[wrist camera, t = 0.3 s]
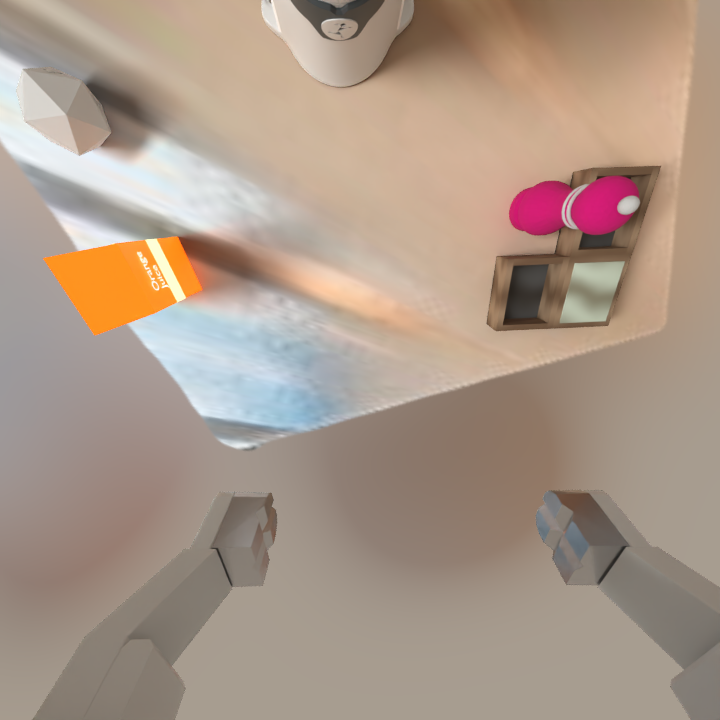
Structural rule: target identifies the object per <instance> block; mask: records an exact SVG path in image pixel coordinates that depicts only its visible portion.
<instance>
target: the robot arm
mask: <svg viewBox="0 0 720 720" xmlns="http://www.w3.org/2000/svg"><path fill="white" fill-rule="evenodd" d="M271 3H272V4H271ZM271 3H270V0H262V15H263V19H264V21H265V23H266V25H267V26H268V27H269V28H270V29H271V30H272V31H273V32H274V33H275V34H276V35H278V36H279V37H280V38H282V39H283V40H284V41H285V42H286V44H287V45H288V47H289V48H290V50H291V52H292V53H293V55H294V57H295V58H296V60H297V61H298V63H299V64H300V65H301V66H302V67H303V69H304V70H305V71H306V72H307V73H308V74H310V75H311V76H312V77H313V78H315V79H316V80H318V81H320V82H322V83H324V84H327V85H330V86H336V87H346V86H351V85H355V84H357V83H359V82H361V81H363V80H365V79H366V78H368V77H369V76H370V75H371V74H372V73H373V72H374V71H375V70H376V69H377V68H378V67H379V65H380V64H381V62H382V61H383V59H384V57H385V56H386V54H387V52H388V49H389V47H390V45H391V43H392V42H393V40H394V39H395V37H396V36H397V35H399V34H400V33H401V32H402V31H403V30H404V29H405V28H406V27H407V26H408V25H409V24H410V22H411V20H412V18H413V13H414V0H405V1H404V0H271ZM543 500H544V502H545V504H544V505H543V506H541V507H540V508H539V509H538V511H537V514H536V525H537V528H538V531H539V534H540V536H541V538H542V540H543V542H544V543H545V544H546V545H547V546H549V547H550V548H551V549H552V550H553V558H552V559H553V561H554V562H555V565H556V567H557V568H558V570H559V572H560V574H561V576H562V578H563V579H564V582H565V583H566V585H599V586H598V588H599V589H600V590H601V591H602V592H603V593H604V594H605V595H607V597H609V598H610V599H611V600H612V601H613V602H614V603H615V604H616V605H617V606H618V607H619V608H620V609H621V610H622V611H623V612H624V613H625V614H626V615H627V616H629V617H630V618H631V619H632V620H633V621H634V622H635V623H636V624H637V625H638V626H639V627H640V628H641V629H642V630H643V631H644V632H645V633H646V634H647V635H648V636H649V637H651V638H652V639H653V640H654V641H655V642H656V643H657V644H658V645H659V646H660V647H661V648H662V649H663V650H664V651H665V652H666V653H667V654H668V655H669V656H670V657H672V658H673V659H674V660H675V661H676V662H677V663H678V664H679V665H680V666H681V667H682V668H683V669H684V670H683V671H682V672H681V673H679V674H678V675H677V676H676V677H674V678H673V679H672V680H671V686H670V687H671V689H672V690H673V692H674V693H675V695H676V697H677V698H678V700H679V702H680V703H681V705H682V706H683V708H684V709H685V711H686V713H687V714H688V716H689V718H690V719H691V720H720V587H718V586H717V585H715V584H714V583H712V582H711V581H709V580H708V579H706V578H705V577H703V576H702V575H700V574H699V573H697V572H695V571H694V570H692V569H691V568H689V567H688V566H686V565H685V564H683V563H682V562H680V561H679V560H677V559H676V558H674V557H672V556H671V555H669V554H668V553H666V552H665V551H663V550H662V549H660V548H659V547H652V546H651V545H650V544H649V543H648V542H647V541H646V539H645V538H644V537H643V535H642V534H641V533H640V532H639V531H638V530H637V528H636V527H635V526H634V525H633V524H632V522H631V521H630V520H629V519H628V517H627V516H626V515H625V514H624V513H623V511H622V510H621V509H620V508H619V507H618V506H617V504H616V503H615V502H614V501H613V500H612V498H611V497H610V496H609V495H608V494H607V493H605V492H604V491H602V490H584V491H582V490H553V491H548V492H546V493H545V494H544V497H543ZM273 501H274V499H273V496H272V493H256V492H219V493H218V494H217V496H216V497H215V498H214V500H213V502H212V504H211V506H210V509H209V510H208V512H207V515H206V517H205V519H204V521H203V523H202V525H201V527H200V529H199V531H198V533H197V535H196V537H195V539H194V541H193V544H192V545H191V548H190V549H184V550H183V551H182V552H181V553H179V554H178V555H177V556H176V557H175V558H174V559H172V560H171V561H170V562H169V563H168V564H167V565H166V566H165V567H164V568H162V569H161V570H160V571H159V572H158V573H157V574H156V575H154V576H153V577H152V578H151V579H150V580H149V581H147V582H146V583H145V584H144V585H143V586H142V587H141V588H140V589H138V590H137V591H136V592H135V593H134V594H133V595H132V596H130V597H129V598H128V599H127V600H126V601H125V602H124V603H122V604H121V605H120V606H119V607H118V608H117V609H116V610H115V611H113V612H112V613H111V614H110V615H109V616H108V617H107V618H105V619H104V620H103V621H102V622H101V623H100V624H99V625H97V626H96V627H95V628H94V629H93V630H92V631H91V632H90V633H88V634H87V635H86V636H85V637H84V639H83V640H82V642H81V643H80V645H79V647H78V648H77V650H76V651H75V653H74V654H73V656H72V658H71V659H70V661H69V662H68V664H67V666H66V667H65V669H64V670H63V672H62V674H61V675H60V677H59V678H58V680H57V682H56V683H55V685H54V686H53V688H52V690H51V691H50V693H49V694H48V696H47V698H46V699H45V701H44V702H43V704H42V706H41V707H40V709H39V710H38V712H37V714H36V715H35V717H34V718H33V720H175V718H176V715H177V712H178V709H179V706H180V703H181V700H182V697H183V694H184V691H185V685H184V682H183V680H182V679H181V677H180V676H179V675H178V674H177V672H176V671H175V670H174V669H173V667H172V665H173V664H174V663H175V661H176V660H177V659H178V657H179V656H180V655H181V654H182V652H183V651H184V650H185V648H186V647H187V646H188V645H189V643H190V642H191V641H192V640H193V638H194V637H195V636H196V634H197V633H198V632H199V631H200V629H201V628H202V627H203V626H204V624H205V623H206V622H207V620H208V619H209V618H210V617H211V615H212V614H213V613H214V611H215V610H216V609H217V608H218V606H219V605H220V604H221V603H222V601H223V600H224V599H225V598H226V596H227V595H228V594H229V592H230V591H231V590H232V587H243V586H263V584H264V580H265V576H266V572H267V568H268V564H269V556H268V552H267V550H268V549H269V548H270V547H271V546H272V545H273V543H274V540H275V535H276V529H277V513H276V510H275V509H274V508H273V507H272V504H273Z"/></svg>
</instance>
